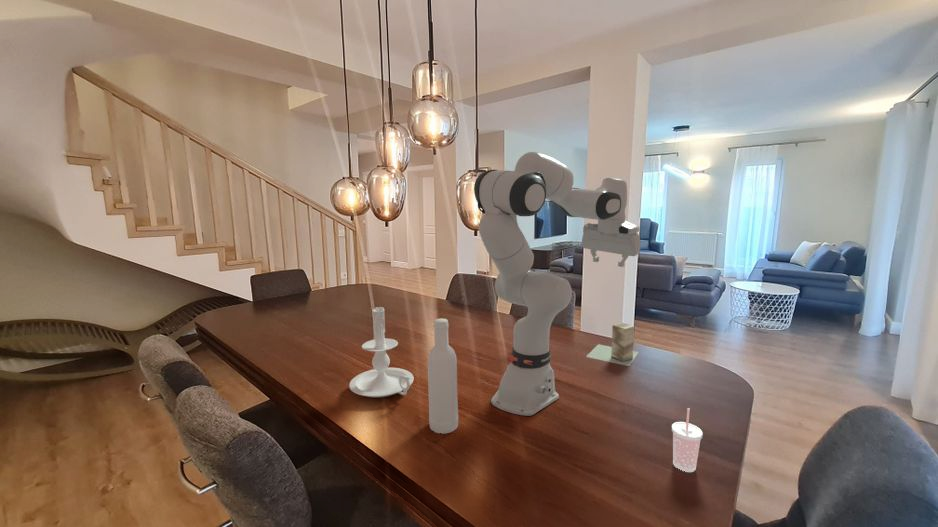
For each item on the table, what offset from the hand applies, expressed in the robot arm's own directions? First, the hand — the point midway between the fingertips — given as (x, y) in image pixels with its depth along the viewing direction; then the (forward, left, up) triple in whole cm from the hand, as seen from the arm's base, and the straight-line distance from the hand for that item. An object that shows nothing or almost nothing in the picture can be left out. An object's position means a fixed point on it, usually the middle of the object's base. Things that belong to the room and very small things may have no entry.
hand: (608, 263), depth 138 cm
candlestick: (-59, +53, -38) cm, 88 cm away
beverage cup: (-46, -31, -38) cm, 68 cm away
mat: (+11, 0, -38) cm, 39 cm away
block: (+9, -4, -38) cm, 39 cm away
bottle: (-64, +25, -38) cm, 79 cm away
